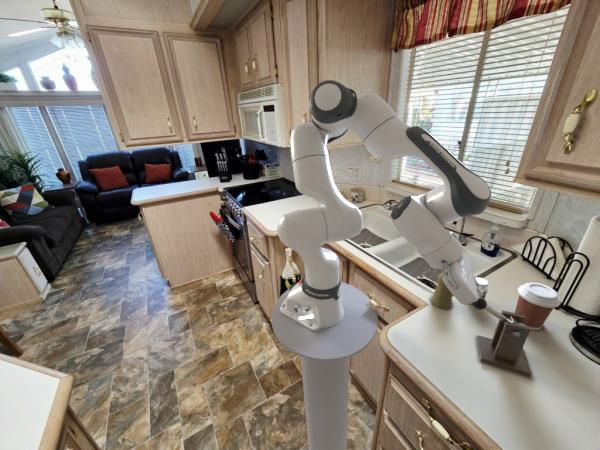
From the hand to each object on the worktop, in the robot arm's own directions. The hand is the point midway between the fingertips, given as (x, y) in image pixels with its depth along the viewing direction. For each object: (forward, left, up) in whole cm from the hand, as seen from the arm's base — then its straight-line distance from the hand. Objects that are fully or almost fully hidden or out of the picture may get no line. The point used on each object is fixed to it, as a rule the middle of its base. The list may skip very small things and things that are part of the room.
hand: (480, 292), depth 62 cm
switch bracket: (+8, -1, -18) cm, 20 cm away
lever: (+3, -1, -6) cm, 7 cm away
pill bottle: (+4, +20, -18) cm, 28 cm away
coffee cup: (+17, +16, -18) cm, 30 cm away
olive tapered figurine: (-6, +15, -18) cm, 25 cm away
